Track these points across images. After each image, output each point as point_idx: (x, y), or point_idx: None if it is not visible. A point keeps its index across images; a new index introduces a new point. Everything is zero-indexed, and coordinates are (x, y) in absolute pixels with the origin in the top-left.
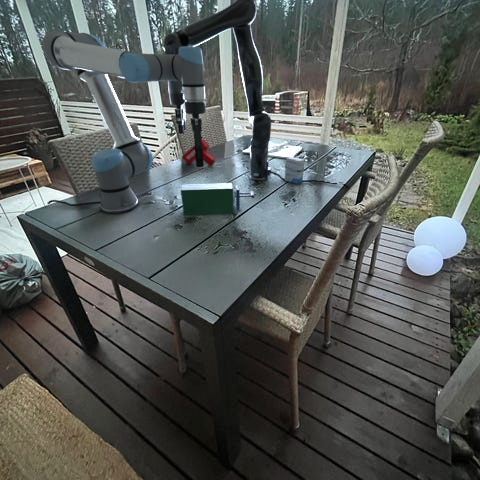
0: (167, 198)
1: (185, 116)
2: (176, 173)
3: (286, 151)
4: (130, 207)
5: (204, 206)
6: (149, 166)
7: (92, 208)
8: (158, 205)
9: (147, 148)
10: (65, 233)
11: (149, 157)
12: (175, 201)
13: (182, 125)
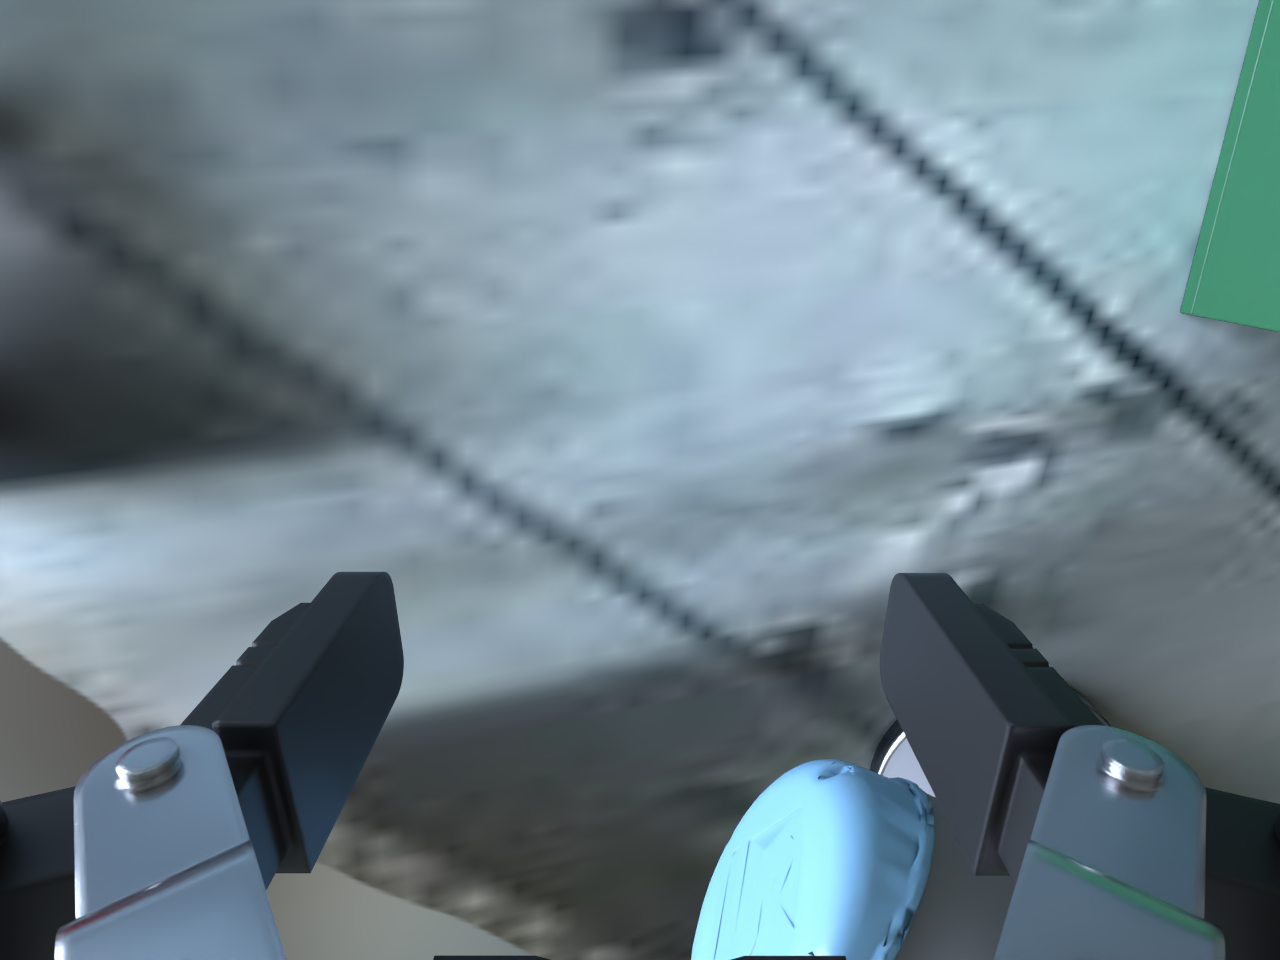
0: (919, 491)
1: (259, 881)
2: (288, 505)
3: None
4: (1091, 706)
5: None
6: (878, 774)
7: None
8: (1043, 535)
9: (887, 953)
10: None
11: (932, 843)
12: (999, 417)
13: (1060, 725)
